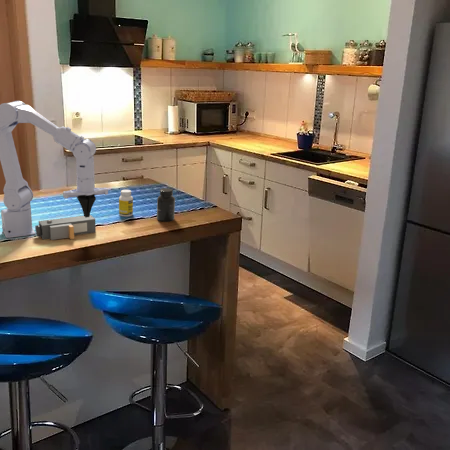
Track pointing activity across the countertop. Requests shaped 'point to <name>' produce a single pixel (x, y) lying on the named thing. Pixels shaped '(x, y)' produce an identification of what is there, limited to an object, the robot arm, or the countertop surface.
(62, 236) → the side door
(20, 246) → the countertop surface
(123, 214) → the supplement bottle
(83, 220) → the gray sliding door box
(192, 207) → the countertop surface
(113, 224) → the countertop surface
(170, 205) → the supplement bottle
